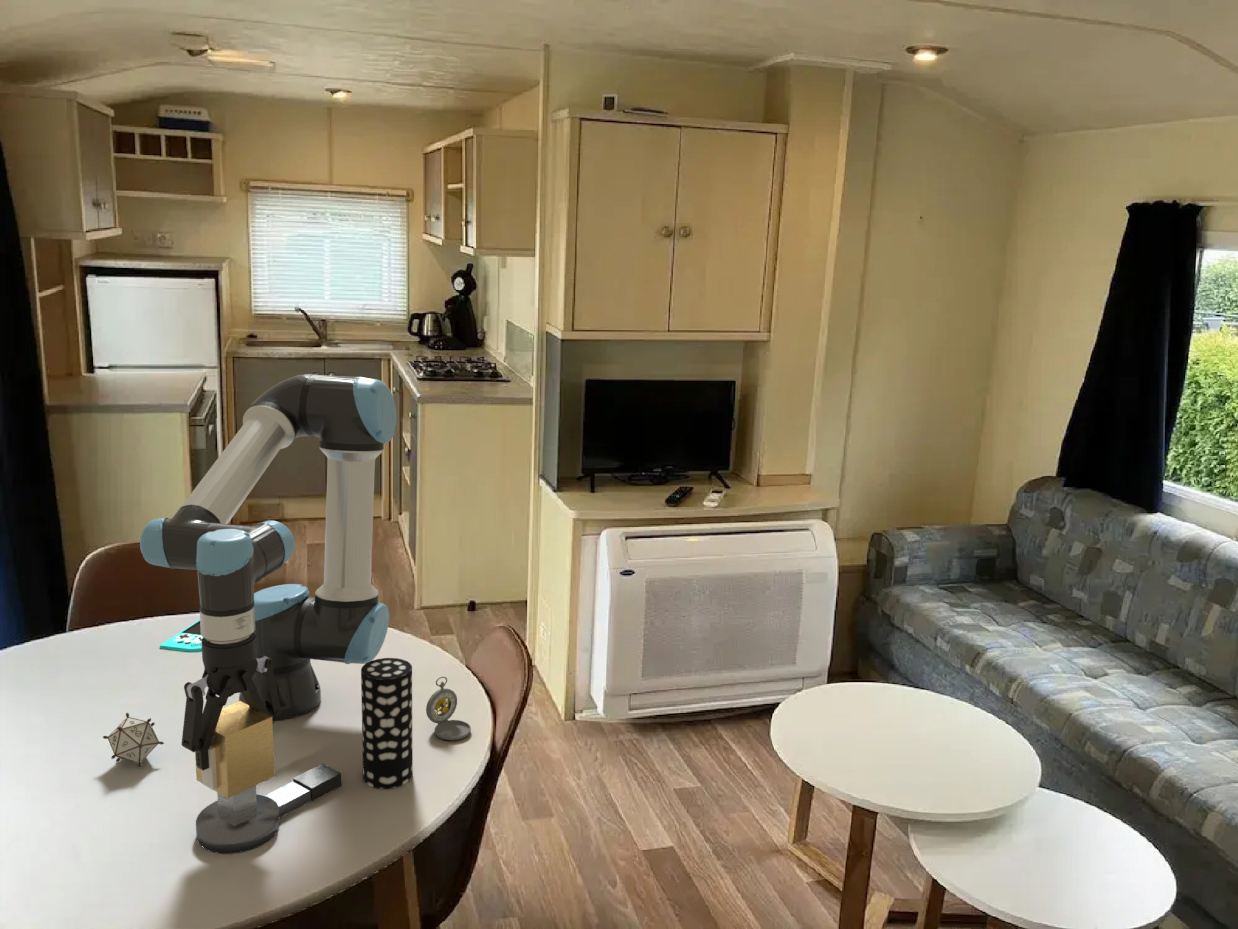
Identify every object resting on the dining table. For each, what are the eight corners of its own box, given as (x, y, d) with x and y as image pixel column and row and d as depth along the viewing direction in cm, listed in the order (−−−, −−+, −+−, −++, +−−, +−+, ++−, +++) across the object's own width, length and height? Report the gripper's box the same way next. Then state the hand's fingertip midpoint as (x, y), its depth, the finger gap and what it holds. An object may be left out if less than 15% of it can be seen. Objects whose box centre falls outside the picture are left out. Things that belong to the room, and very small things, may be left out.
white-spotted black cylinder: (388, 794, 165) (386, 684, 160) (352, 778, 169) (350, 670, 165) (422, 773, 172) (422, 666, 167) (387, 758, 176) (386, 653, 172)
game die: (149, 777, 174) (183, 733, 173) (111, 784, 166) (147, 739, 165) (120, 741, 177) (154, 698, 176) (82, 746, 169) (117, 702, 168)
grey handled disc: (309, 769, 172) (307, 724, 170) (355, 793, 165) (354, 747, 163) (180, 833, 152) (177, 783, 150) (227, 864, 146) (224, 812, 144)
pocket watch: (463, 744, 182) (463, 694, 180) (420, 738, 184) (420, 688, 181) (478, 723, 190) (478, 675, 188) (436, 717, 191) (436, 669, 189)
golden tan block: (196, 780, 151) (193, 720, 148) (242, 759, 157) (240, 701, 155) (228, 798, 146) (225, 737, 144) (274, 776, 153) (272, 716, 150)
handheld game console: (158, 650, 216) (158, 644, 216) (200, 622, 232) (200, 617, 231) (200, 655, 215) (200, 649, 214) (240, 627, 230) (240, 621, 230)
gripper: (177, 664, 136) (186, 813, 141) (303, 620, 153) (307, 754, 158) (147, 649, 140) (157, 794, 145) (273, 608, 157) (278, 739, 162)
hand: (235, 773), depth 152 cm, fingers closed on golden tan block, 8 cm apart
